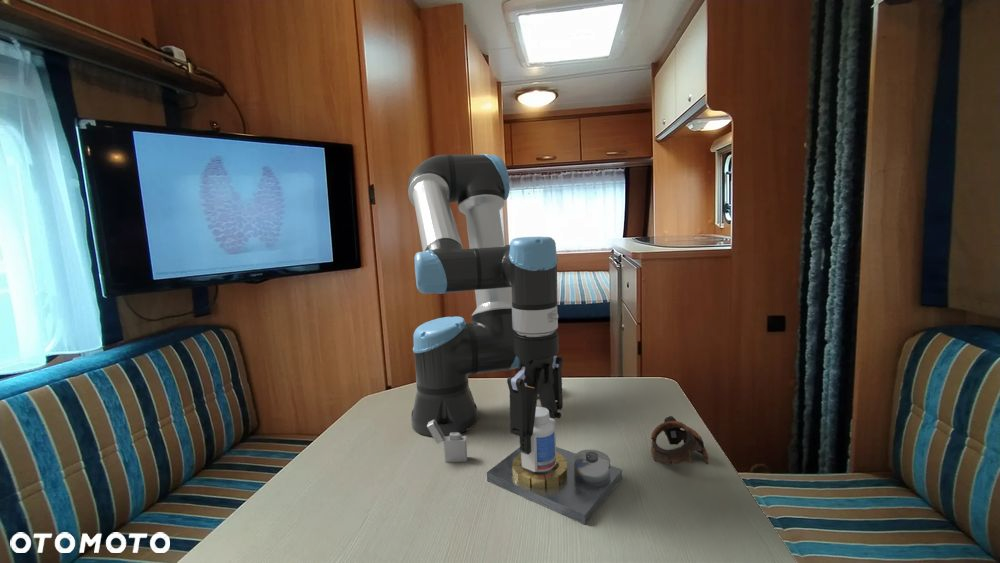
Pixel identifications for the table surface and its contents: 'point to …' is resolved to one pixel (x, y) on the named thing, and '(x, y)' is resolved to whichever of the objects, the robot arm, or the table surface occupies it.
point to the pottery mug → (677, 442)
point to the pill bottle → (544, 440)
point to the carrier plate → (561, 481)
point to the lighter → (450, 443)
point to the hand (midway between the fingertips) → (539, 459)
